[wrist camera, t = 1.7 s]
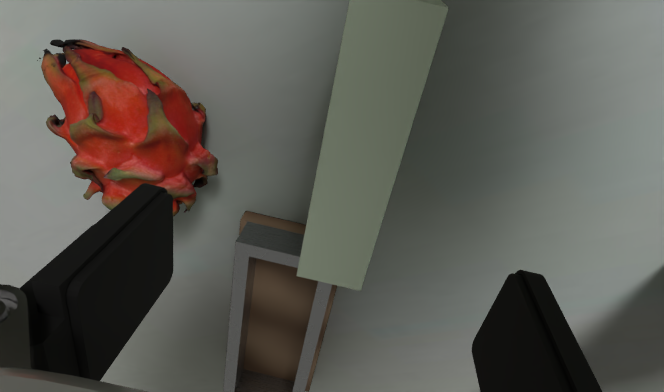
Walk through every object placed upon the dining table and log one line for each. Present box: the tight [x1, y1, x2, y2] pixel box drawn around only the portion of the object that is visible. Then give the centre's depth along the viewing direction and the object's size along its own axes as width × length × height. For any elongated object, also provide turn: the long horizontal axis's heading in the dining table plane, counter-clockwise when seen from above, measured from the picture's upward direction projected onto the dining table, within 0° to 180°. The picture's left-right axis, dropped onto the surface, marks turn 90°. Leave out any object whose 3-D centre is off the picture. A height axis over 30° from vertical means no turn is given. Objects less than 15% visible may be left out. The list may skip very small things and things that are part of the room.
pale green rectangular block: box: [297, 0, 449, 291], centre depth 20 cm, size 12×3×11 cm, turn 169°
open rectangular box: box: [223, 211, 337, 392], centre depth 34 cm, size 18×8×4 cm, turn 169°
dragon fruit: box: [37, 40, 218, 216], centre depth 25 cm, size 8×8×12 cm
